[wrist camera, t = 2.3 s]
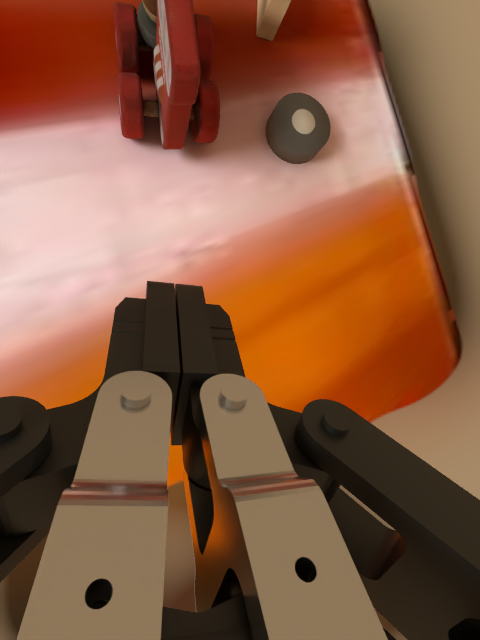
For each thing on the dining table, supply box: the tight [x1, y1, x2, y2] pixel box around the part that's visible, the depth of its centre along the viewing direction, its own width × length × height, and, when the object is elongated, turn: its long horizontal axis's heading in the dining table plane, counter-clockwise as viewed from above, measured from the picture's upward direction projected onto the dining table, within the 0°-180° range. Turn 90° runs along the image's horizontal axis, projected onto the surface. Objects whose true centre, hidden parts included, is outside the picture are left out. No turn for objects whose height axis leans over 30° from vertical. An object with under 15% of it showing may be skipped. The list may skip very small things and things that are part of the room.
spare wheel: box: [266, 93, 330, 164], centre depth 31 cm, size 5×5×2 cm
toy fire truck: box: [114, 0, 220, 149], centre depth 24 cm, size 7×12×10 cm, turn 5°
